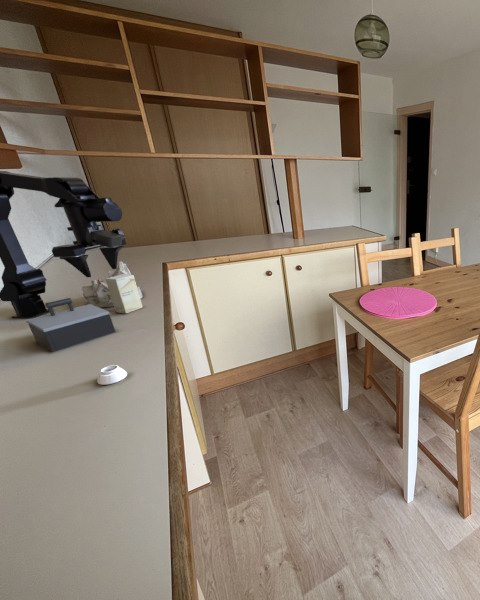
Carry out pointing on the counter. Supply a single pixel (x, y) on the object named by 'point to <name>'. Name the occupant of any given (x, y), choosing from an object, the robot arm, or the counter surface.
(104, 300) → the beige crumpled lump
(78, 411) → the counter surface
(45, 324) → the bread lid
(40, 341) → the sloped grey box
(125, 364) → the counter surface
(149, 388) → the counter surface
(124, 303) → the cosmetic box
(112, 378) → the upturned white bowl
